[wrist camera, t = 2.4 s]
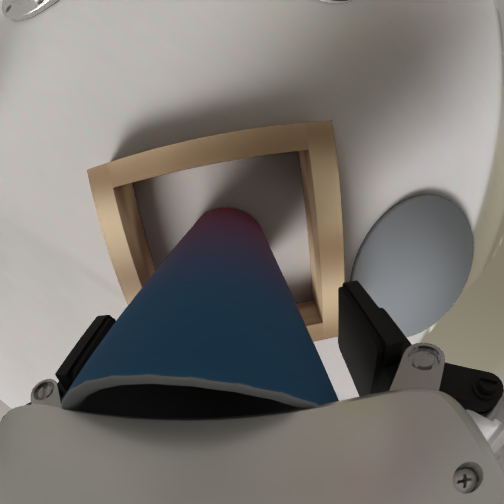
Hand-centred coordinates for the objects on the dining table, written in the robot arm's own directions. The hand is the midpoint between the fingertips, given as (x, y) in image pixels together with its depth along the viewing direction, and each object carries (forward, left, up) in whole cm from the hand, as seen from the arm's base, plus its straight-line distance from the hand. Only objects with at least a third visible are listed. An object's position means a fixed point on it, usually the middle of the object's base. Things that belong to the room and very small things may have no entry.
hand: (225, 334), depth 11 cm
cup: (-1, 0, -9) cm, 9 cm away
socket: (-1, 0, -9) cm, 9 cm away
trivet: (+4, +15, -9) cm, 18 cm away
